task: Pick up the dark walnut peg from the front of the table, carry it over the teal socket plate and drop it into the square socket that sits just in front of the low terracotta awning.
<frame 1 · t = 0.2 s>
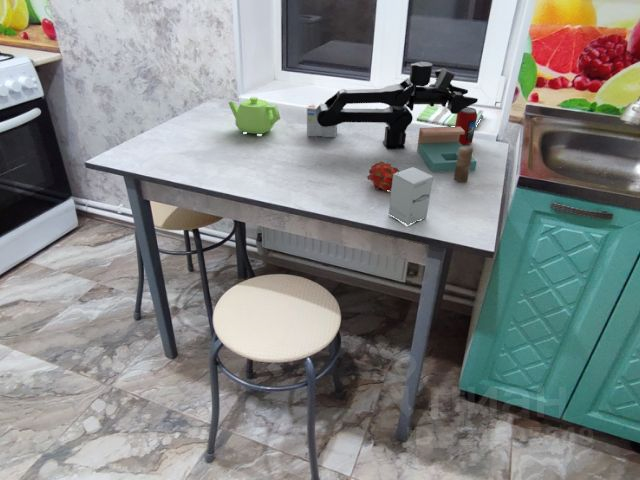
hand: (472, 95, 159), 17 cm above the table, tool horizontal, fingers open, 9 cm apart
beverage can: (462, 143, 169), on the table
teapot: (255, 132, 177), on the table
light bulb box: (322, 134, 175), on the table
socket plate: (445, 160, 157), on the table
walnut peg: (460, 179, 145), on the table
supplement box: (407, 218, 127), on the table
dragon fruit: (385, 188, 140), on the table
dish towel: (449, 120, 190), on the table
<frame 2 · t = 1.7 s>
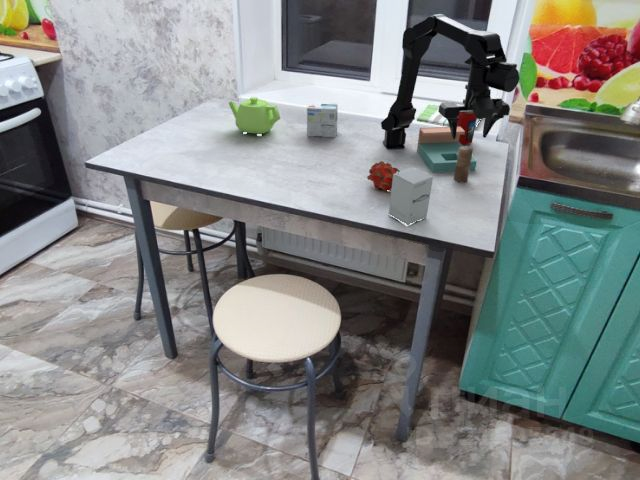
hand: (468, 138, 138), 13 cm above the table, tool pointing down, fingers open, 9 cm apart
nothing on the table moved.
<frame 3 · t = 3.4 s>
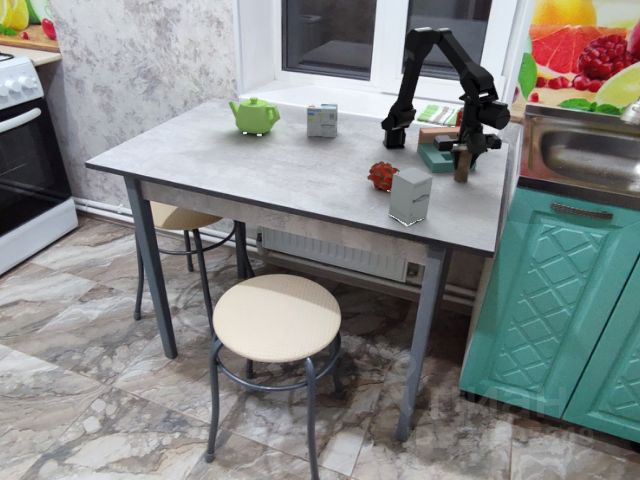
hand: (462, 169, 143), 4 cm above the table, tool pointing down, fingers closed on walnut peg, 4 cm apart
walnut peg: (460, 179, 145), on the table, touching gripper
everything else where it was.
when the fingers open (5 cm above the table, at t = 7.4 s): walnut peg drops 2 cm, resting in socket plate.
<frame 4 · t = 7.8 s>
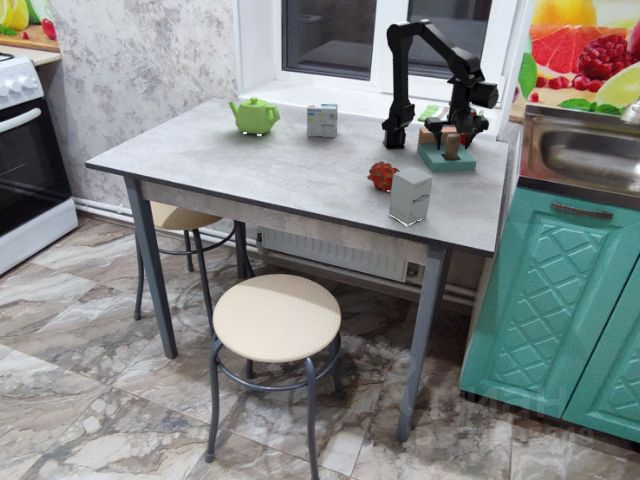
hand: (451, 149, 150), 5 cm above the table, tool pointing down, fingers open, 9 cm apart
walnut peg: (449, 165, 153), resting in socket plate
everything else where it was.
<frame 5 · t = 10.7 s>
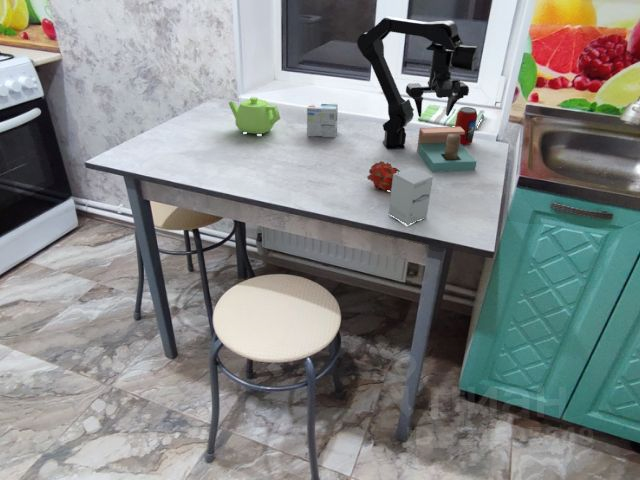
hand: (433, 116, 154), 13 cm above the table, tool pointing down, fingers open, 9 cm apart
nothing on the table moved.
at the end: walnut peg 0.0 cm from the target spot on the socket plate, point 0.0 cm above the socket plate's base; walnut peg tilted 0°; the gripper is holding nothing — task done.
